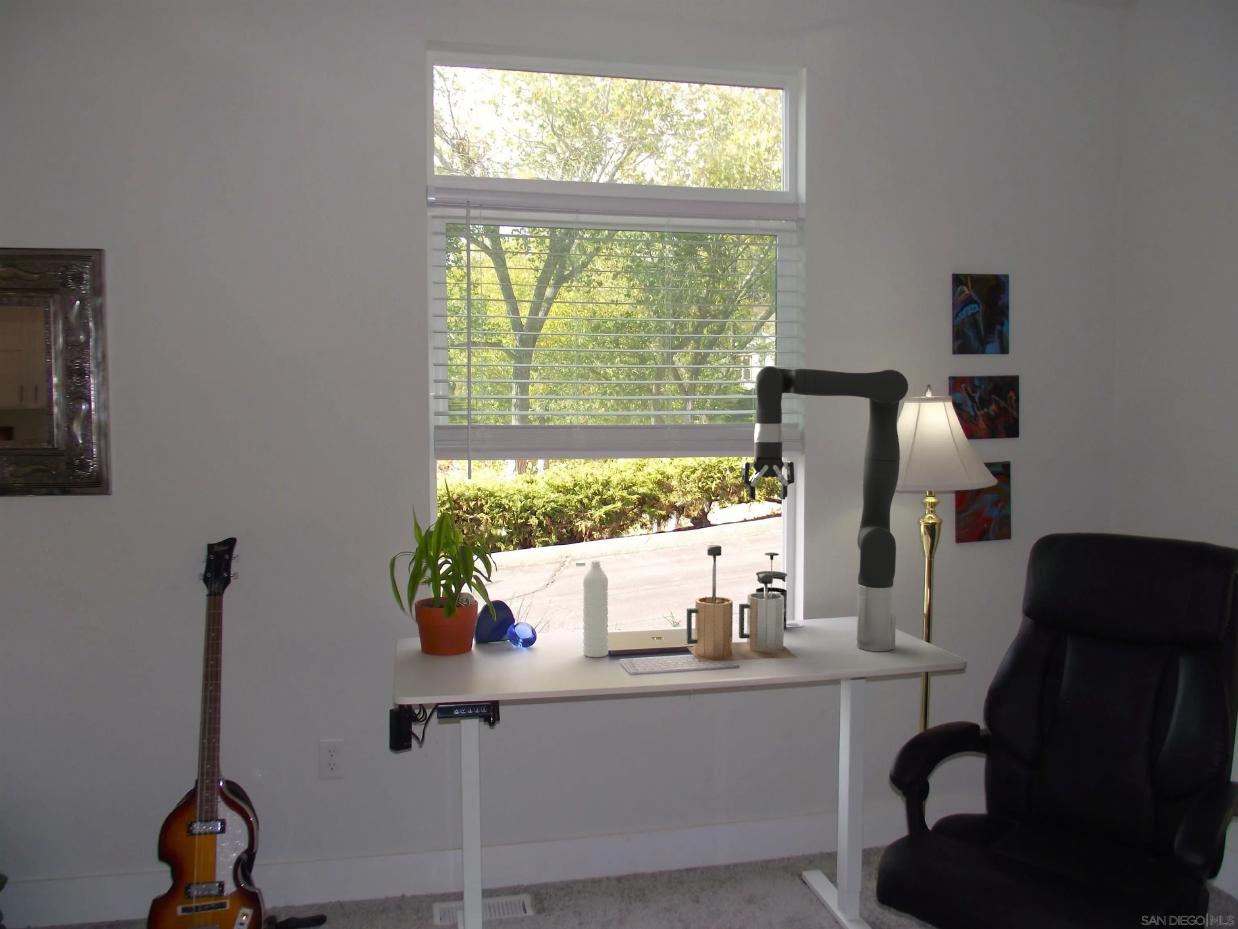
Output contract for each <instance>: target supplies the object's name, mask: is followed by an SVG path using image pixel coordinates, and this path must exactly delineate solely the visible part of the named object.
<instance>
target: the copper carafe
mask: <svg viewBox="0 0 1238 929" xmlns="http://www.w3.org/2000/svg"><path fill="white" fill-rule="evenodd" d="M733 601H734V600H732V599H731V598H728V597H723V596H716V603H719V604H708V603H712V596H701V597H698V598H696V599H695V601H694V602H695V606H694V607H691V608H686V645H689V644H695V653H696V655H697V656H700V657H703V658H711V659H720V658H727V657H730V656H731V655H732V643H733V620H734V619H733V613H734V612H733V608H734V606H733V604H734V602H733ZM692 614H695V619H694V622H695V623H694V624H695V625H694V628H695V630H694V633H695V634H694V635H695V636H694V638H693V637H692V635H693V634H692V633H693V631H692V628H693V626H692V624H693V622H692V620H693V619H692V618H693V615H692Z"/></svg>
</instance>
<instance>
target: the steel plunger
mask: <svg viewBox="0 0 1238 929" xmlns="http://www.w3.org/2000/svg"><path fill="white" fill-rule="evenodd" d="M773 581H774V579H773V574H769V573H761V574H759V582H758V583H759V584H762V585H763V587H764V599H767V595H768V587H769V585H771V584H772V585H773V583H774V582H773Z"/></svg>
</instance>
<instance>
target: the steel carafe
mask: <svg viewBox="0 0 1238 929" xmlns="http://www.w3.org/2000/svg"><path fill="white" fill-rule="evenodd" d="M776 593H777V592H772V593H771V592H769V593H768V595H767V599H764V592H758V593H756V592H751V593H749V594H747V600H746V601H747V602H746V603H738V638H739V639H743V640H744V639H746V642H747V648H748V649H749V650H752V651H755V652H762V653H775V652H779V651H782V650H783V646H784V641H785V640H784V639H785V638H784V637H785V636H784V633H785V631H784V630H785V629H784V596H783V595H781V594H776ZM745 609H746V610H747V612H746V614H747V618H746V620H747V621H746V622H747V623H746V632H745Z"/></svg>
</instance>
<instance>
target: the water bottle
mask: <svg viewBox="0 0 1238 929" xmlns="http://www.w3.org/2000/svg"><path fill="white" fill-rule="evenodd" d="M589 565H590V567H589V568H588V570H587V571H586V573H585V575H584V577H583V583H582V586H583V591H582V592H583V633H582V635H583V646H582V647H583V656H585V657H589V658H603V657H606V656H607V655H608V654H609V646H608V645H609V637H608V636H609V630H608V628H609V625H608V622H609V617H608V615H609V610H608V609H609V608H608V606H609V601H608V600H609V592H608V588H609V586H608V585H609V584H608V583H609V579H608V576H607V574H606V573H605V571H604V570H603V568H602V566H601V565H602V564H601V561H600V560H591V562H590V564H589ZM575 566H576V567H586V561H583V560H580V561H579V560H578V561H575Z"/></svg>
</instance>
